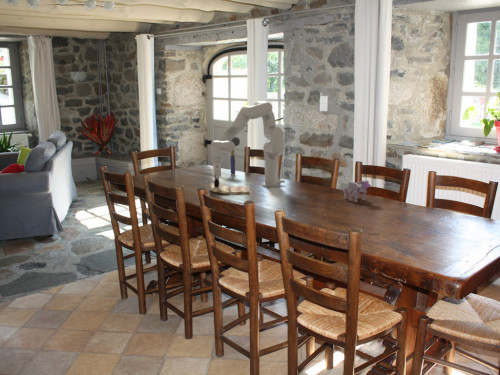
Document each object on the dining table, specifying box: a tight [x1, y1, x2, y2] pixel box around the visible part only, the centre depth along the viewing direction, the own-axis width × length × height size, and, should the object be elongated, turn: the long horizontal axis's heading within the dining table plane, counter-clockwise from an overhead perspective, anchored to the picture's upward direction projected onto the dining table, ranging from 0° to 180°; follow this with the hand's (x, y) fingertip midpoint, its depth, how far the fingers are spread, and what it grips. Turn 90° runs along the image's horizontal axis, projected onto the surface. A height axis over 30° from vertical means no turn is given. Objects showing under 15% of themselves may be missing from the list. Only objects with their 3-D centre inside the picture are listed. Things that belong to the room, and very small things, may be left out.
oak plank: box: [209, 182, 231, 195], centre depth 333 cm, size 13×18×2 cm
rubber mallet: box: [229, 136, 241, 175], centre depth 392 cm, size 12×8×30 cm, turn 35°
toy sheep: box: [342, 179, 372, 203], centre depth 303 cm, size 20×11×14 cm, turn 32°
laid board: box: [228, 185, 250, 195], centre depth 335 cm, size 12×18×2 cm
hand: (216, 186), depth 332 cm, fingers closed
